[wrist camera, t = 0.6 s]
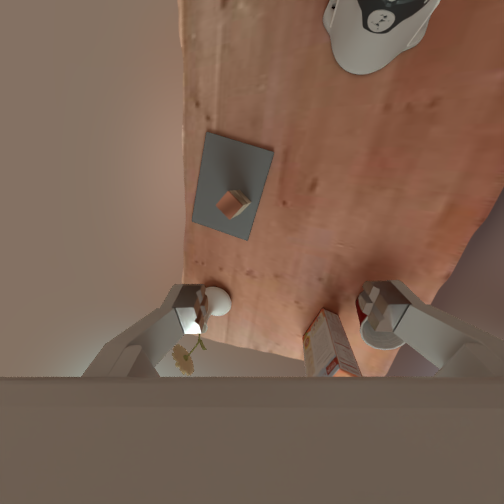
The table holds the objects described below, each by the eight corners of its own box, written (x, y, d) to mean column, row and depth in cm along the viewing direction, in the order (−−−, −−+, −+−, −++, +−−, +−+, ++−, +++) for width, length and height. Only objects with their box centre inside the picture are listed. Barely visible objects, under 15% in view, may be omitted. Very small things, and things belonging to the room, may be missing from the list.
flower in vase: (198, 285, 64) (145, 341, 41) (228, 282, 61) (190, 341, 38) (208, 316, 68) (165, 383, 45) (237, 315, 65) (207, 386, 42)
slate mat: (207, 132, 47) (206, 131, 46) (274, 152, 45) (273, 152, 45) (193, 220, 56) (191, 221, 55) (247, 240, 54) (247, 240, 54)
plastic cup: (395, 292, 51) (423, 322, 40) (376, 321, 55) (398, 356, 44) (355, 281, 52) (373, 306, 41) (340, 310, 56) (352, 341, 45)
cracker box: (318, 344, 62) (330, 416, 43) (301, 337, 62) (306, 404, 43) (340, 315, 57) (365, 381, 37) (322, 307, 57) (338, 368, 38)
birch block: (229, 201, 51) (215, 205, 42) (239, 189, 49) (228, 190, 40) (240, 213, 51) (229, 219, 42) (251, 202, 50) (242, 205, 41)
